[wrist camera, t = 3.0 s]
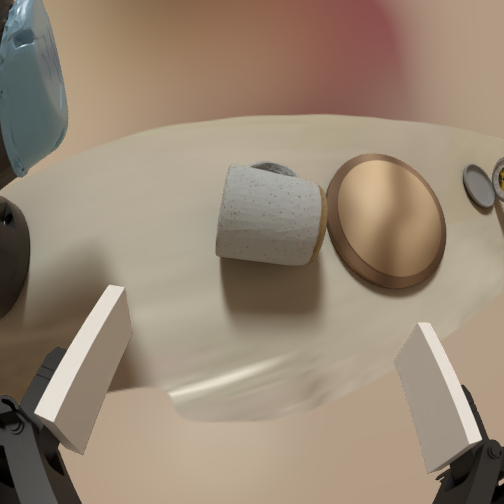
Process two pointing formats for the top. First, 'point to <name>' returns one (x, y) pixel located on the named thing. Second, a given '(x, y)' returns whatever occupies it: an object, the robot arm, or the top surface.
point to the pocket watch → (485, 184)
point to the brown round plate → (385, 221)
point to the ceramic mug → (270, 215)
